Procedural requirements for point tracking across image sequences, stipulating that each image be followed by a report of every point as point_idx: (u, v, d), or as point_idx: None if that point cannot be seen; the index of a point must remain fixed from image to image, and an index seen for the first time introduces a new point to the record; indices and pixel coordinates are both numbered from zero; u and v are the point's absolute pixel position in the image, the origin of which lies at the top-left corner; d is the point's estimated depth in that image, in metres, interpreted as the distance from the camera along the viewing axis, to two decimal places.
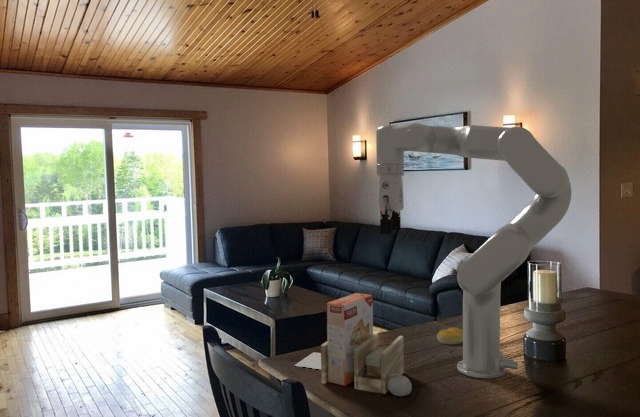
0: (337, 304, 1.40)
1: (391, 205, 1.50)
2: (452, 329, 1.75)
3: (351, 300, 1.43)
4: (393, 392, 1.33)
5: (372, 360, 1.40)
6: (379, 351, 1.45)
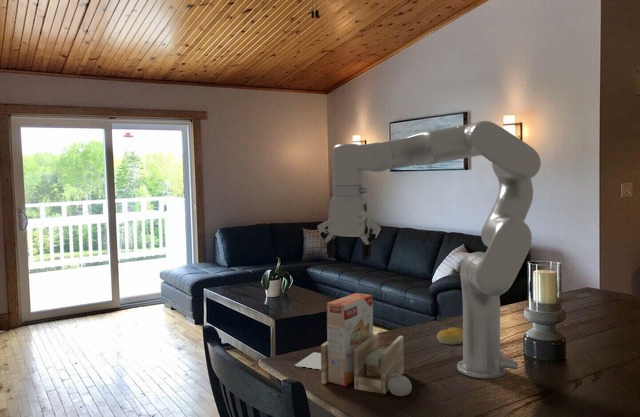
0: (337, 304, 1.40)
1: (368, 228, 1.44)
2: (452, 329, 1.76)
3: (351, 300, 1.43)
4: (393, 392, 1.33)
5: (371, 359, 1.40)
6: (380, 351, 1.45)
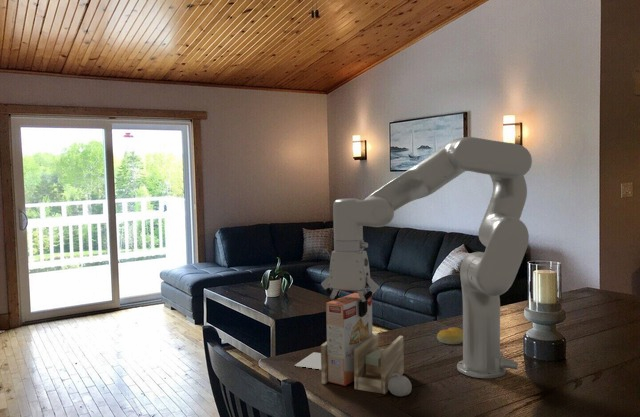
0: (336, 304, 1.40)
1: None
2: (452, 329, 1.76)
3: (350, 300, 1.43)
4: (393, 392, 1.33)
5: (371, 359, 1.40)
6: (380, 350, 1.45)
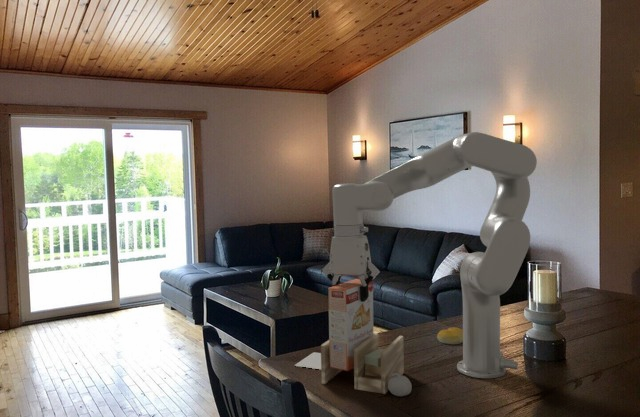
0: (339, 289, 1.40)
1: None
2: (452, 329, 1.76)
3: (352, 285, 1.43)
4: (393, 392, 1.33)
5: (371, 359, 1.41)
6: (379, 351, 1.45)
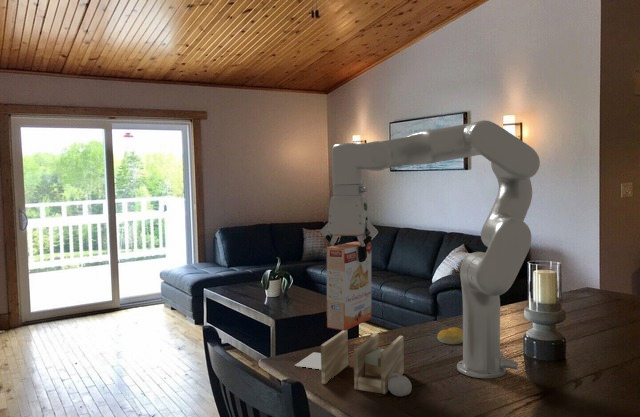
0: (337, 248, 1.39)
1: None
2: (452, 329, 1.76)
3: (351, 245, 1.43)
4: (393, 392, 1.33)
5: (371, 359, 1.41)
6: (380, 350, 1.45)
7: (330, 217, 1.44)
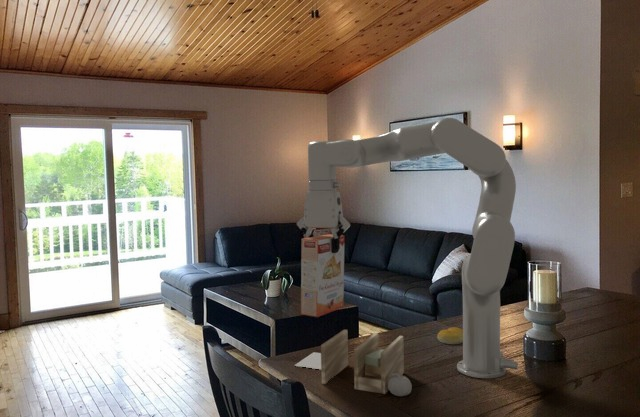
0: (311, 239, 1.48)
1: None
2: (452, 329, 1.76)
3: (324, 237, 1.51)
4: (393, 392, 1.33)
5: (371, 359, 1.41)
6: (380, 351, 1.45)
7: (305, 210, 1.53)
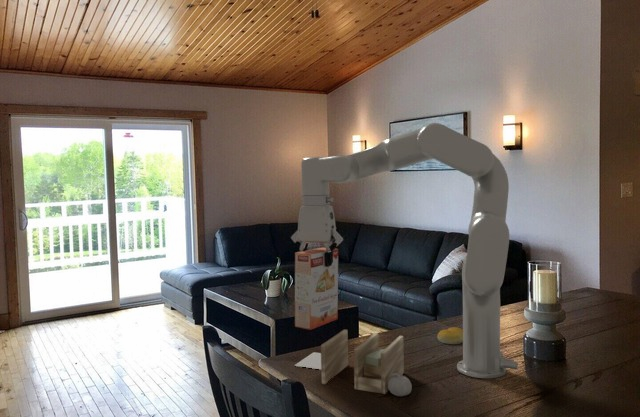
0: (304, 253, 1.51)
1: None
2: (452, 329, 1.76)
3: (318, 251, 1.54)
4: (393, 392, 1.33)
5: (371, 359, 1.41)
6: (381, 351, 1.45)
7: (299, 225, 1.56)
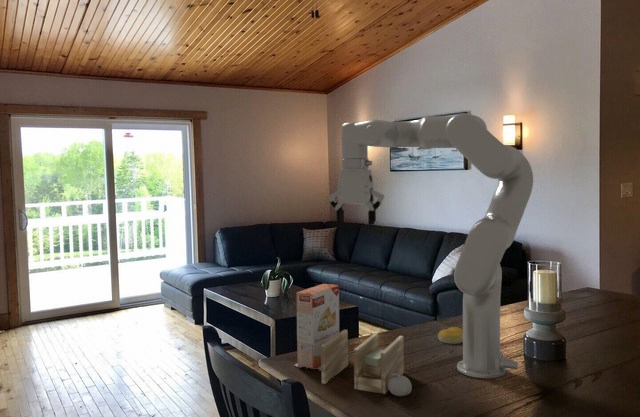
0: (306, 293, 1.51)
1: (373, 196, 1.63)
2: (453, 329, 1.76)
3: (319, 290, 1.55)
4: (393, 392, 1.33)
5: (371, 359, 1.40)
6: (380, 351, 1.45)
7: (339, 188, 1.63)
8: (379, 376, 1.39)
